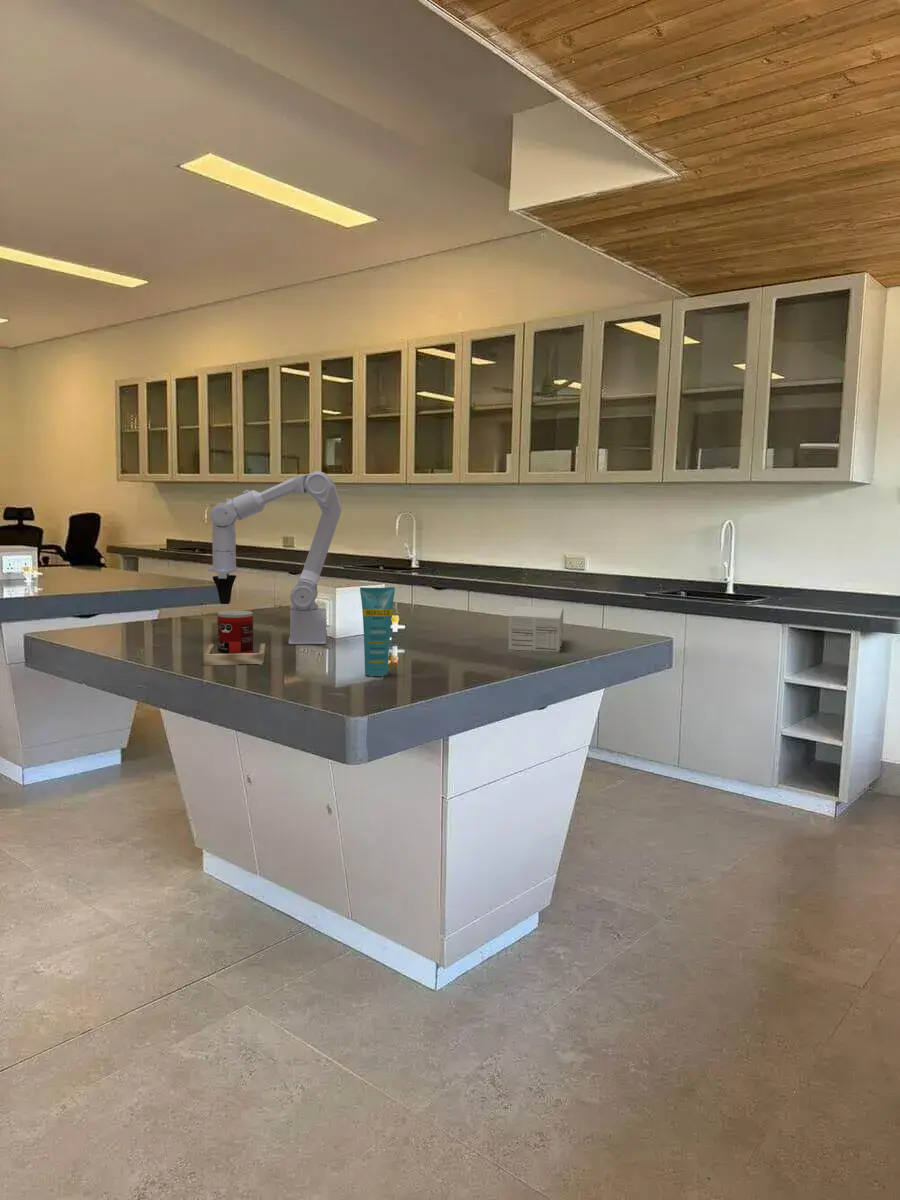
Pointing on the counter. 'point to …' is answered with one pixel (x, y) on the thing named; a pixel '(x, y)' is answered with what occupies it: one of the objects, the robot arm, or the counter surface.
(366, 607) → the tube
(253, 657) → the bracket
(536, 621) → the supplement box
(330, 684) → the counter surface
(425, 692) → the counter surface
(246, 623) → the canned food
